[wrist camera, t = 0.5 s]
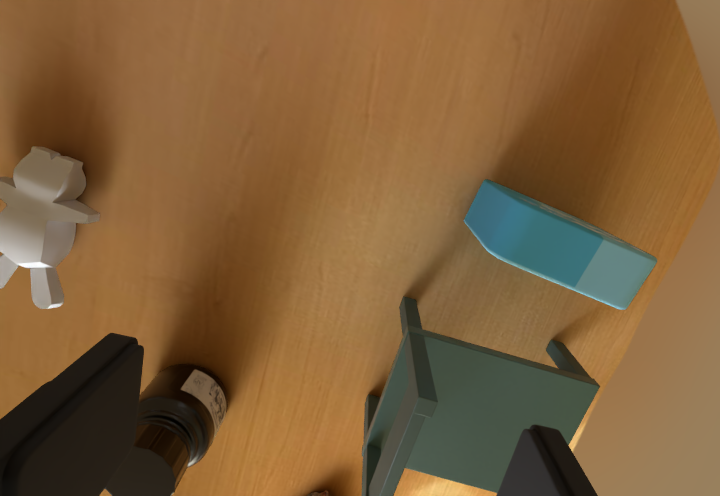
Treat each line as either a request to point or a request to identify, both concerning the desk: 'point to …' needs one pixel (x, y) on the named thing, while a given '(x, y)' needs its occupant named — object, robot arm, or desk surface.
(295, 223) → the desk surface
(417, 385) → the chair
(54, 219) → the bunny figurine
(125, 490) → the ink bottle
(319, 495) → the mineral rock
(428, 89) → the desk surface
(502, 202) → the light blue rounded block
